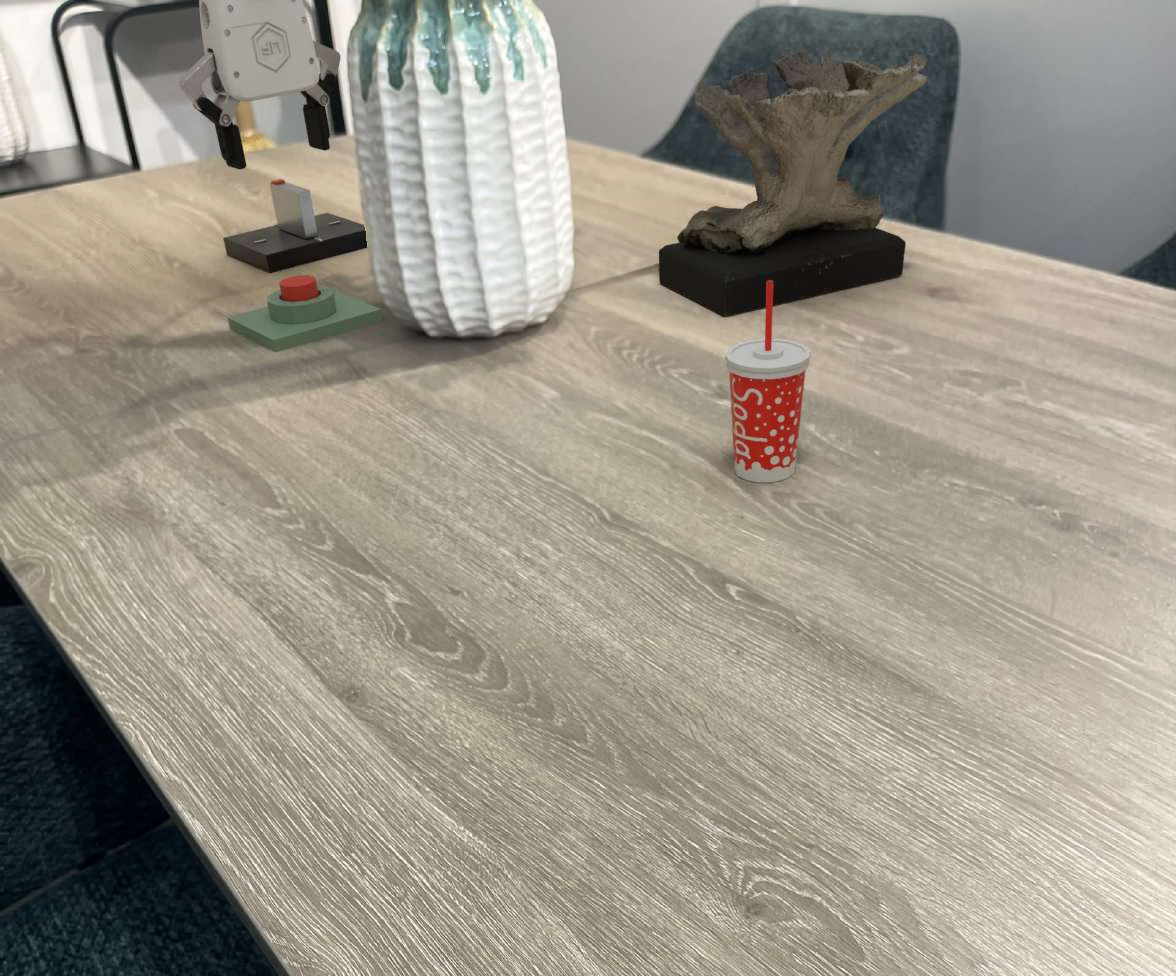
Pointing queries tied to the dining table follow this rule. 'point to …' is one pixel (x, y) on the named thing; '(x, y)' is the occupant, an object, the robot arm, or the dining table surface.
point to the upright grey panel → (293, 209)
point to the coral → (791, 188)
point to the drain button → (298, 288)
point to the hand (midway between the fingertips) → (279, 157)
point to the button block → (303, 319)
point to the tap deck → (296, 244)
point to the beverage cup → (766, 402)
